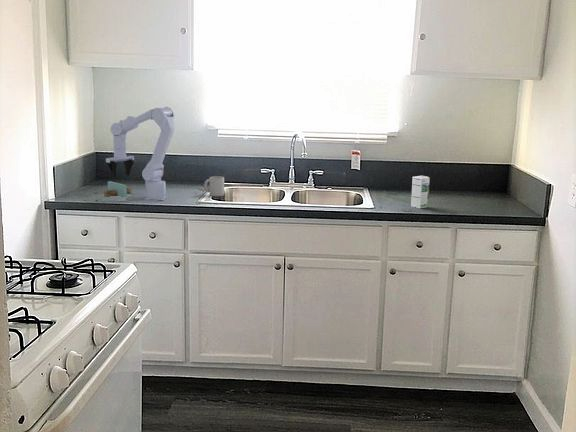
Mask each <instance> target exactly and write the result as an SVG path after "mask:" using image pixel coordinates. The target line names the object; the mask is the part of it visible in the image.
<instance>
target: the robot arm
mask: <svg viewBox="0 0 576 432" xmlns="http://www.w3.org/2000/svg"><path fill="white" fill-rule="evenodd" d="M175 116H176V115H175V114H174V111H173V110H172V108H171V107H168V106H165V107H155V108H152V109H149V110H147V111H145V112H144V113H141V114H140V115H137V116H136V117H135V116H133V115H132V116H130V115H128V116H127V117H126V118H125V119H123V120H122V119H121V120H119V122H113V124H111V126H110V129H109V130H110V133H111V135H112V137H113V143H112V144H113V157H107V158H106V157H105V163H106V165H107V167H108V169H109V171H110V173H111V176H112V177H113V178H116V177H117V165H118V164H117V162H123V163H124V168H125V170H124V171H125V175H126V176H130V174H131V170H132V167H133V166H134V164H135V163H134V162H135V161H134V160H135V156H134V155H127V142H126V140H127V139H126V138H127V133H128V132H130V131H133V130H135V129H137V128H138V126H139V125H140V124H142V123H144V122H147V121H149V120H153V121H154V122H155V123H156V125H157V126H158V127H159V128H160V133H159V136H158V138H157V141H156V144H155V148H154V150H153V153H152V156H151V158H150V160H149V161H148V162H147V163H146V166H145V167H144V169H143V170H142V172H141V174H142V175H141V176H142V178H143V180H144V182H145V183H144V185H145V197H146V198H147V199H146V200H150V199H157V200H158V201H165V200H166V198H167V188H166V187H167V186H166V185H167V183H166V181H165V180H162V177H163V176H164V167H165V165H164V164H163V162H164V160H165V156H166V153H167V152H168V151H167V150H168V148H169V145H170V143H171V139H172V136H173V135H174V130H175V121H174V118H175Z"/></svg>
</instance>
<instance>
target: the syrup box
mask: <svg viewBox="0 0 576 432" xmlns="http://www.w3.org/2000/svg"><path fill="white" fill-rule="evenodd" d="M411 183H412V184H411V201H410V207H412V208H415V207H416V208H415V209H425V208H429V198H430V196H429V195H430V177H429V176H426V175H417V176H412V181H411Z"/></svg>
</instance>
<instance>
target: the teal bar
mask: <svg viewBox="0 0 576 432" xmlns="http://www.w3.org/2000/svg"><path fill="white" fill-rule="evenodd" d="M127 188H128V187H127V184H123V183H120V182H116V181H115V182H114V181H110V180H109V181H107V190H116V193H117V196H121V197H127Z"/></svg>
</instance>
